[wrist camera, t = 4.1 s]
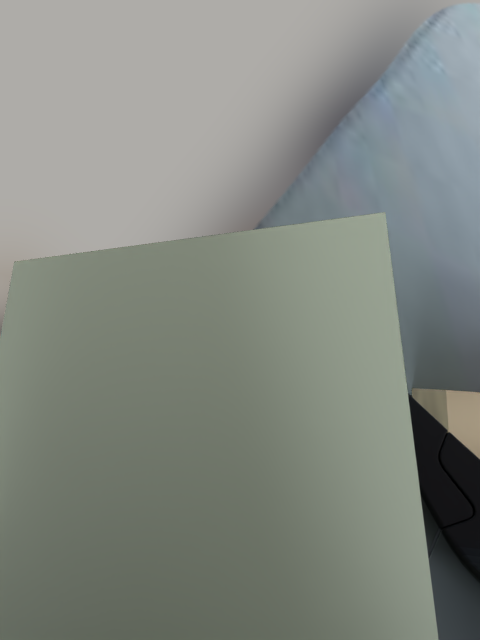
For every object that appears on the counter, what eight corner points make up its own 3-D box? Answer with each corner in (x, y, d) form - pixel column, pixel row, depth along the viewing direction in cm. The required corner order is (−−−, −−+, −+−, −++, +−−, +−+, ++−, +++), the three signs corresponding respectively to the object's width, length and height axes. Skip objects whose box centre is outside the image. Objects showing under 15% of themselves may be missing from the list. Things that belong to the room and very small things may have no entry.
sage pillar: (335, 450, 14) (469, 882, 2) (237, 444, 15) (-65, 688, 3) (328, 350, 15) (384, 212, 3) (238, 352, 16) (13, 261, 4)
